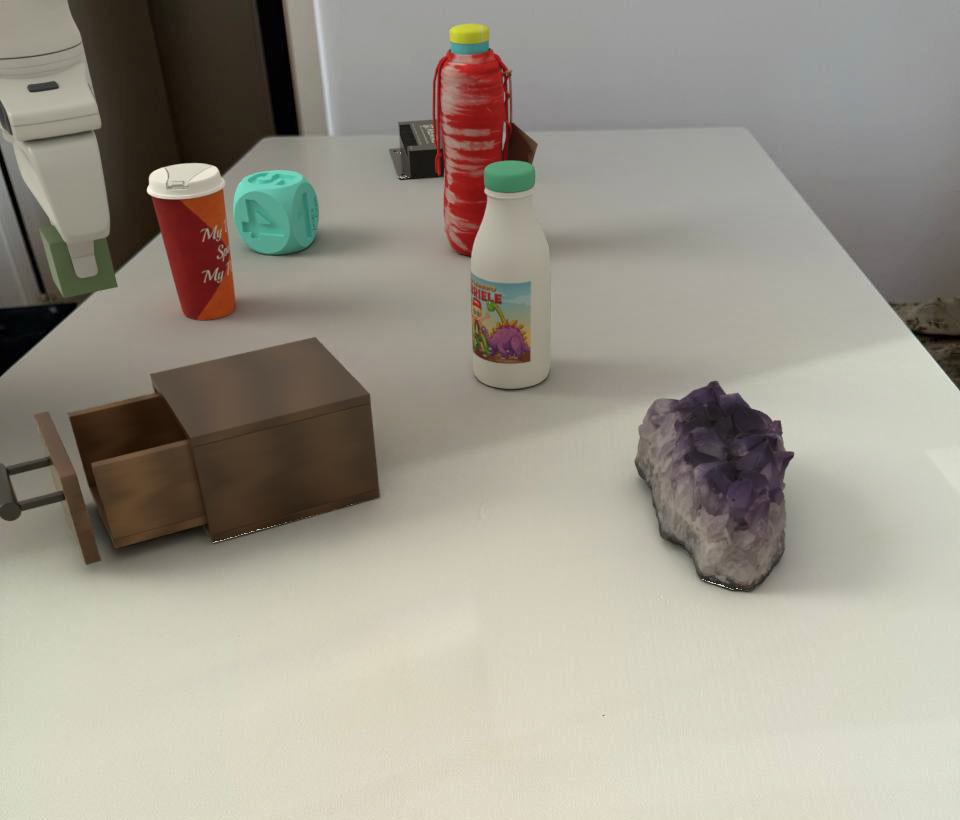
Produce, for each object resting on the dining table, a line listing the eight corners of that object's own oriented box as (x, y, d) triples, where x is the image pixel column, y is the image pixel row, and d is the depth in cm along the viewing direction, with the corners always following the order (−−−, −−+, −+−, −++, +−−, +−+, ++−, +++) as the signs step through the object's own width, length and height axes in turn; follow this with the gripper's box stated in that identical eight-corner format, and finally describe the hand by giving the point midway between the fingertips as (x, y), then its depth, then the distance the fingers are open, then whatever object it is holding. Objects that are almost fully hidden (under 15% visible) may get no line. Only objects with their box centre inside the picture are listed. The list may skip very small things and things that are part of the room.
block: (63, 298, 96) (48, 244, 93) (53, 281, 99) (38, 227, 96) (118, 287, 97) (105, 233, 94) (106, 270, 100) (93, 217, 97)
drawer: (22, 583, 86) (-9, 494, 81) (0, 512, 94) (-30, 428, 89) (253, 519, 92) (237, 433, 87) (213, 458, 100) (197, 376, 95)
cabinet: (212, 544, 91) (190, 438, 85) (172, 474, 100) (149, 373, 94) (380, 497, 96) (370, 393, 90) (327, 434, 105) (315, 336, 99)
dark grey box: (388, 149, 177) (379, 26, 166) (477, 142, 178) (473, 20, 167) (401, 188, 161) (391, 55, 150) (498, 180, 163) (495, 48, 152)
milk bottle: (511, 350, 118) (508, 148, 105) (566, 372, 114) (570, 164, 101) (457, 375, 114) (448, 167, 101) (512, 398, 109) (510, 185, 97)
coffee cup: (238, 323, 126) (215, 183, 116) (165, 325, 126) (135, 186, 116) (251, 294, 132) (230, 159, 123) (181, 295, 132) (154, 161, 123)
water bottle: (531, 234, 145) (531, 14, 129) (539, 256, 139) (540, 28, 123) (437, 239, 144) (426, 19, 129) (441, 262, 138) (429, 34, 123)
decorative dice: (295, 257, 141) (286, 191, 136) (238, 252, 143) (227, 187, 138) (322, 236, 147) (315, 172, 142) (267, 231, 149) (258, 167, 144)
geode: (837, 586, 84) (844, 474, 78) (683, 614, 85) (677, 505, 78) (759, 444, 100) (759, 340, 93) (629, 468, 100) (620, 367, 93)
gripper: (-28, 68, 94) (20, 235, 103) (13, 122, 80) (65, 311, 89) (49, 58, 96) (90, 222, 105) (102, 109, 82) (145, 294, 91)
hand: (79, 263), depth 97 cm, fingers closed on block, 4 cm apart
